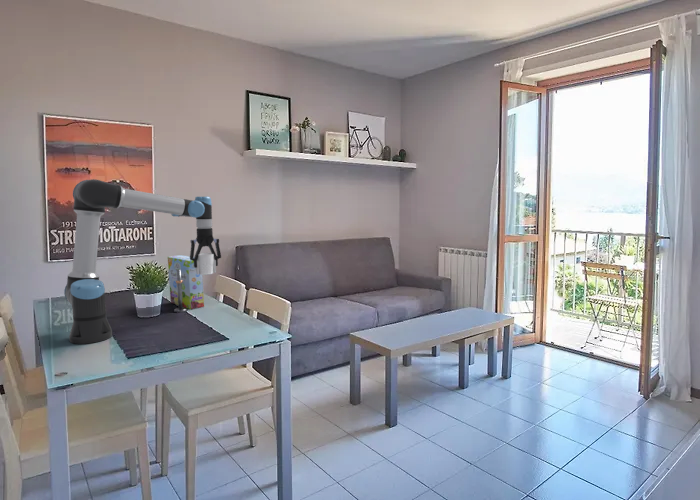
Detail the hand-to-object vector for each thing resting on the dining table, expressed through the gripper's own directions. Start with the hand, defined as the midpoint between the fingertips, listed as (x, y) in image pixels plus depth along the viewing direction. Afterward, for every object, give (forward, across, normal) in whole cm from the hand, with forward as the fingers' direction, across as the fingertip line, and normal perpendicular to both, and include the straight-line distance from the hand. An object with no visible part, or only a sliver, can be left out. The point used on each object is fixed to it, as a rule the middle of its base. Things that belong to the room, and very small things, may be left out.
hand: (206, 273), depth 226 cm
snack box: (+19, +6, -18) cm, 27 cm away
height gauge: (+19, +12, -6) cm, 23 cm away
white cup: (+1, 0, 0) cm, 1 cm away
